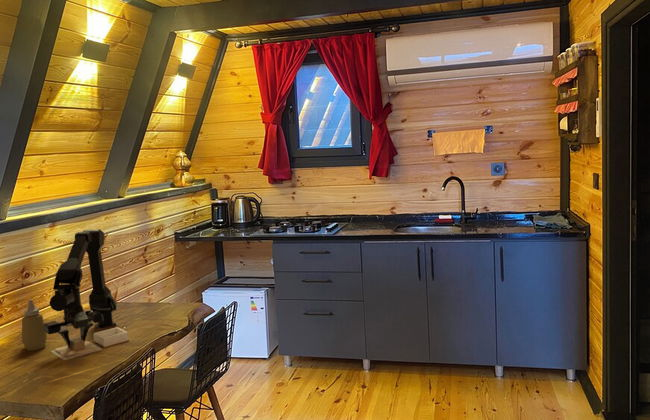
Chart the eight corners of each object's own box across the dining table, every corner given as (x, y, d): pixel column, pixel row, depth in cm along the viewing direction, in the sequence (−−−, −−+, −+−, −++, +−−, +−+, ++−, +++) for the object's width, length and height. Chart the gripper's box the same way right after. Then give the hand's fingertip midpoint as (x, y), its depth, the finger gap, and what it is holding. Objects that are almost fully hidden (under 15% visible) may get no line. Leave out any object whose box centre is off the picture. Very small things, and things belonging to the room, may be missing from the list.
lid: (54, 350, 203) (53, 340, 202) (86, 342, 210) (85, 332, 210) (66, 358, 195) (65, 347, 194) (98, 349, 202) (97, 338, 202)
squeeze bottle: (23, 354, 202) (17, 304, 200) (23, 347, 209) (17, 299, 207) (48, 349, 206) (43, 300, 203) (47, 343, 213) (42, 295, 211)
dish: (94, 342, 211) (93, 333, 211) (118, 335, 217) (117, 326, 217) (104, 348, 205) (103, 338, 204) (128, 341, 211) (127, 332, 210)
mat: (51, 352, 203) (50, 350, 203) (88, 342, 212) (88, 340, 212) (64, 361, 193) (64, 360, 193) (102, 350, 202) (102, 349, 202)
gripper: (51, 313, 188) (56, 359, 190) (107, 300, 201) (111, 343, 203) (40, 307, 196) (45, 351, 198) (95, 295, 209) (99, 337, 211)
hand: (76, 345), depth 202 cm, fingers open, 4 cm apart
